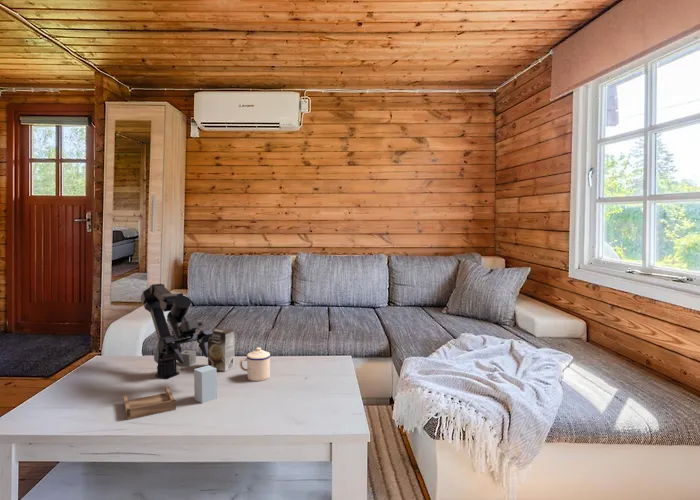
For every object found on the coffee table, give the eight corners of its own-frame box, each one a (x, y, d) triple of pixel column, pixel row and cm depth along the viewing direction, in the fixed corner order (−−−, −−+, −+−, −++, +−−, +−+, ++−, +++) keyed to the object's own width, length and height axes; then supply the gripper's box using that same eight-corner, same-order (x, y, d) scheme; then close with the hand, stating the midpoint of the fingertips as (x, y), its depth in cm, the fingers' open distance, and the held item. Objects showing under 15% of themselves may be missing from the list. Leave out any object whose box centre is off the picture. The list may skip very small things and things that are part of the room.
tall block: (194, 399, 147) (194, 369, 147) (209, 394, 151) (208, 365, 151) (202, 403, 144) (201, 372, 143) (217, 398, 148) (216, 368, 147)
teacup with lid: (272, 373, 173) (272, 344, 172) (267, 381, 164) (267, 351, 163) (243, 372, 173) (242, 344, 172) (236, 381, 164) (236, 351, 163)
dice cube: (185, 361, 187) (185, 350, 187) (195, 362, 186) (195, 351, 186) (178, 365, 182) (178, 353, 182) (189, 366, 181) (189, 354, 181)
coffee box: (207, 369, 177) (206, 330, 176) (217, 364, 183) (217, 326, 182) (225, 372, 174) (224, 332, 173) (235, 367, 180) (234, 329, 179)
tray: (123, 403, 144) (123, 394, 143) (168, 394, 151) (168, 386, 151) (127, 419, 132) (126, 410, 132) (175, 409, 139) (175, 400, 139)
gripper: (160, 315, 146) (177, 353, 140) (210, 307, 161) (227, 341, 154) (151, 334, 152) (166, 371, 146) (199, 324, 166) (215, 358, 160)
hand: (195, 360), depth 151 cm, fingers open, 9 cm apart
